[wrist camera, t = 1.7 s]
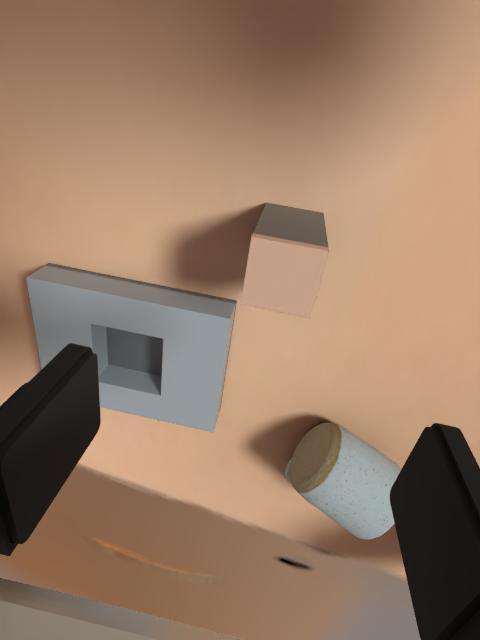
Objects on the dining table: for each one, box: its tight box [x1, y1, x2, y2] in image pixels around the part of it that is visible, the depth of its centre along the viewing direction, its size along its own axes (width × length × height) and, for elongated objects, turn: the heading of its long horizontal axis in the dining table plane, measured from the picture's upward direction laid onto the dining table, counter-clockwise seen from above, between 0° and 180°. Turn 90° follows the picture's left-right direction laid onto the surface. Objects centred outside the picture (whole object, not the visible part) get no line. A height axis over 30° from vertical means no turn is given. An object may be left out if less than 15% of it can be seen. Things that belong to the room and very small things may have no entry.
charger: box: [241, 203, 329, 319], centre depth 23 cm, size 4×4×8 cm
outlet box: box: [26, 263, 237, 432], centre depth 32 cm, size 16×12×3 cm
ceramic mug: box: [284, 422, 401, 539], centre depth 34 cm, size 10×8×7 cm
